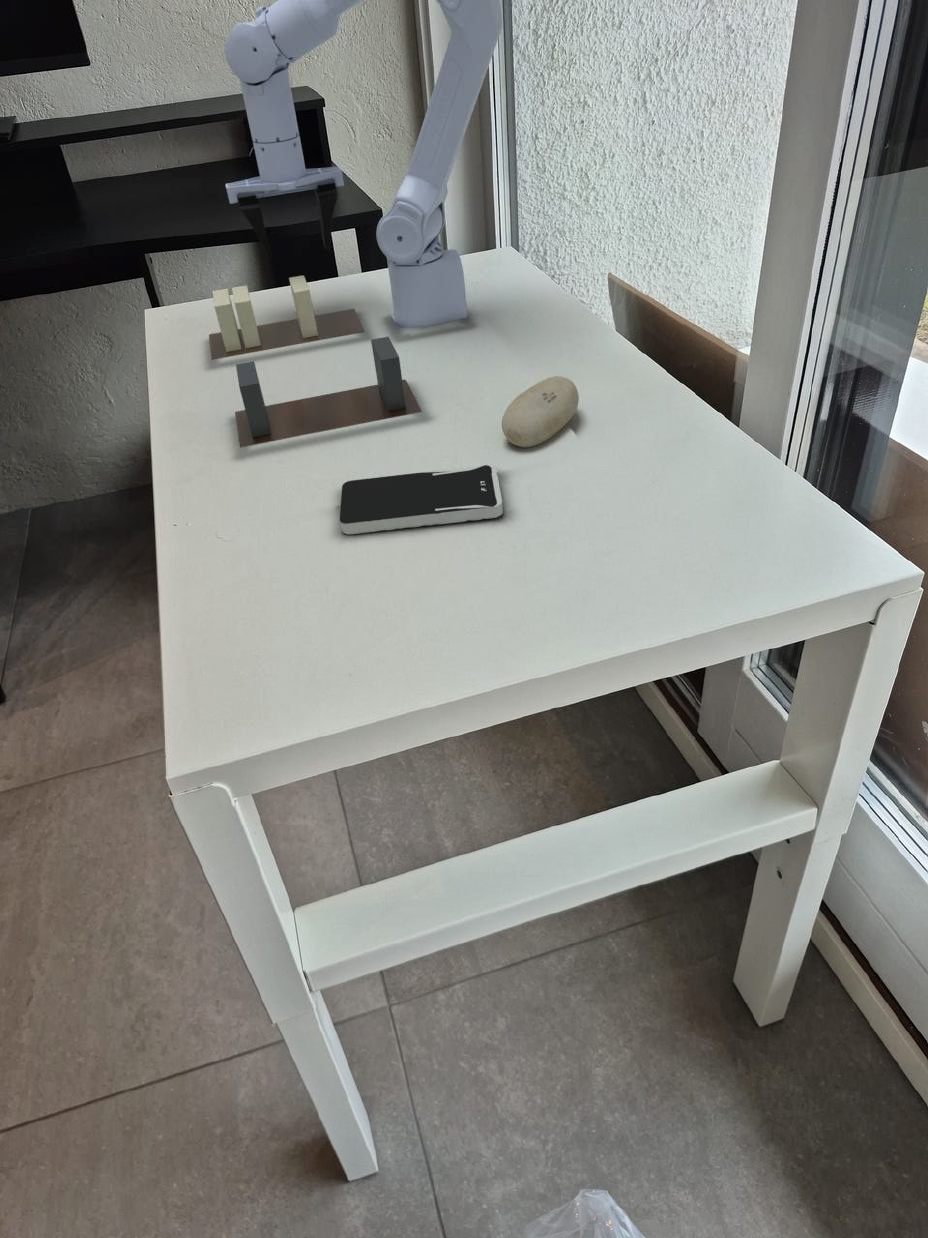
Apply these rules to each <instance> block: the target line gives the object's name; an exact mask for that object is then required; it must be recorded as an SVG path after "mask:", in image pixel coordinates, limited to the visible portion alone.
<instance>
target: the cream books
mask: <svg viewBox="0 0 928 1238" xmlns="http://www.w3.org/2000/svg"><path fill="white" fill-rule="evenodd" d="M231 291H232V297H233V298H232V299H233V301H234V302H233V303H234V307H235V311H236V315H237V319H238V323H239V327H240V329H241V331H242V335H243V340H244V344H245V348H252V347H257V346H261V343H260V338H259V334H258V329H257V326H258V325H257V321H256V317H255V313H254V309H253V305H252V304H253V303H252V300H251V295H250V292H249V288H248V285H247V284H246V285H241V286H235V287H234V286H233V287H232V288H231ZM212 298H213V306H214V307H213V308H214V310H215V314H216V318H217V322H218V326H219V329H220V332H221V333H222V337H223V341H224V345H225V349H226V352H230V351H236V350H241V349H242V347H241V341H240V336H239V331H238V329H239V327H238V323H237V319H236V315H235V311H234V307H233V303H232V300H231V295H230V292H229V288H223V289H222V288H221V289H216V290H212Z"/></svg>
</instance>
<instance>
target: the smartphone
mask: <svg viewBox="0 0 928 1238" xmlns="http://www.w3.org/2000/svg"><path fill="white" fill-rule="evenodd" d="M340 495H341V497H340V509H339V523H340V528H341V532H342V534H344V535H348V536H349V535H351V536H352V535H358V534H367V533H368V534H369V533H377V532H385V531H394V530H403V529H412V528H419V527H427V526H428V527H429V526H437V525H446V524H454V523H464V522H471V521H480V520H482V521H483V520H489V519H490V520H491V519H497V518H499V517H501V516H502V515H503V513H504V508H503V499H502V493H501V486H500V482H499V476H498V470H497V467H496V466H495V465H492V464H481V465H473V466H466V467H455V468H447V469H440V470H439V469H438V470H429V471H421V472H411V473H404V474H396V475H387V476H377V477H371V478H370V477H369V478H360V479H352V480H347V481H345V482H344V483H343V484H342V485H341V494H340Z"/></svg>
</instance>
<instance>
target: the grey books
mask: <svg viewBox="0 0 928 1238" xmlns="http://www.w3.org/2000/svg"><path fill="white" fill-rule="evenodd" d="M370 343H371V348H372V356H373V361H374V367H375V375H376V380H377V385H378V388H379V391H380V393H381V395H382V398H383V400H384V402H385V404H386V407H387V409H388V411H394V410H399V409H404V408H406V404H405V396H404V389H403V382H402V380H403V376H402V375H403V374H402V369H401V368H402V367H401V361H400V356H399V354H398V352H397V350H396V348H395V346H394V344H393V343H392V341H391V339H390V336H384V337H378V338H373V339H370ZM235 368H236V374H237V381H238V387H239V391H240V395H241V399H242V403H243V407H244V410H245V411H246V415H247V419H248V422H249V426H250V430H251V434H252V438H256V437H261V436H266V435H271V432H270V427H269V422H268V417H267V412H266V408H265V406H266V404H265V400H264V396H263V392H262V388H261V384H260V380H259V376H258V375H259V374H258V371H257V367H256V363H255V361H254V360H253V361H247V362H243V363H237V364H235Z"/></svg>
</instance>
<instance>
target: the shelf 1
mask: <svg viewBox="0 0 928 1238" xmlns="http://www.w3.org/2000/svg"><path fill="white" fill-rule="evenodd" d="M314 316H315V321H316V326H317V331H318V336H313V337H307V338H303V336H302V333H301V330H300V327H299V324H298V320H297V318H293V319H288V320H281V321H277V322H270V323H265V324H260V325H257V329H258V334H259V338H260V343H261V346H257V347H252V348H245V344H244V340H243V335H242V331H241V328H238V331H239V336H240V341H241V347H242V349H241V350H236V351H230V352H226V349H225V345H224V341H223V337H222V333H221V331H220V332H215V333H209V334H208V341H209V349H210V350H209V351H210V359H211V361H215V360H219V359H224V358H231V357H237V356H240V355H246V354H247V355H248V354H251V353H257V352H258V353H259V352H263V351H269V350H275V349H279V348H285V347H291V346H297V345H301V344H306V343H311V342H318V341H323V340H329V339H333V338H339V337H345V336H350V335H356V334H361V333H366V331H365V329H364V326H363V324H362V322H361V320H360V317H359V316H358V314H357V311H356V309H355V308H349V309H344V310H343V309H342V310H338V311H332V312H326V313H321V314H314Z"/></svg>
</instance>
